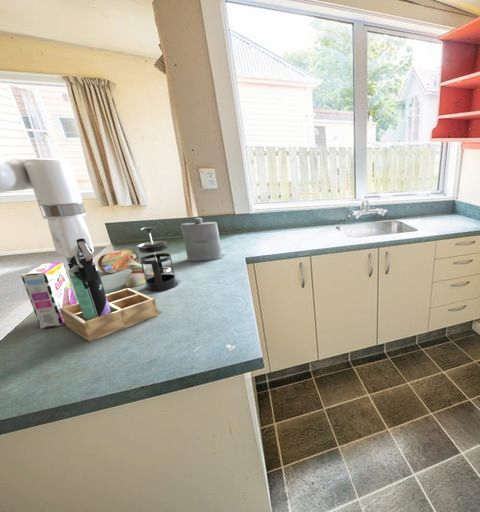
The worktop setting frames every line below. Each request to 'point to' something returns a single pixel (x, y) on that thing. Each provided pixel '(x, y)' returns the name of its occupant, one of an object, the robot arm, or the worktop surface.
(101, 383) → the worktop surface
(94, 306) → the spray can
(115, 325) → the tray
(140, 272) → the chocolate bunny
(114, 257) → the tin
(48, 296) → the candy bar box
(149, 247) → the french press
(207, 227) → the flask
